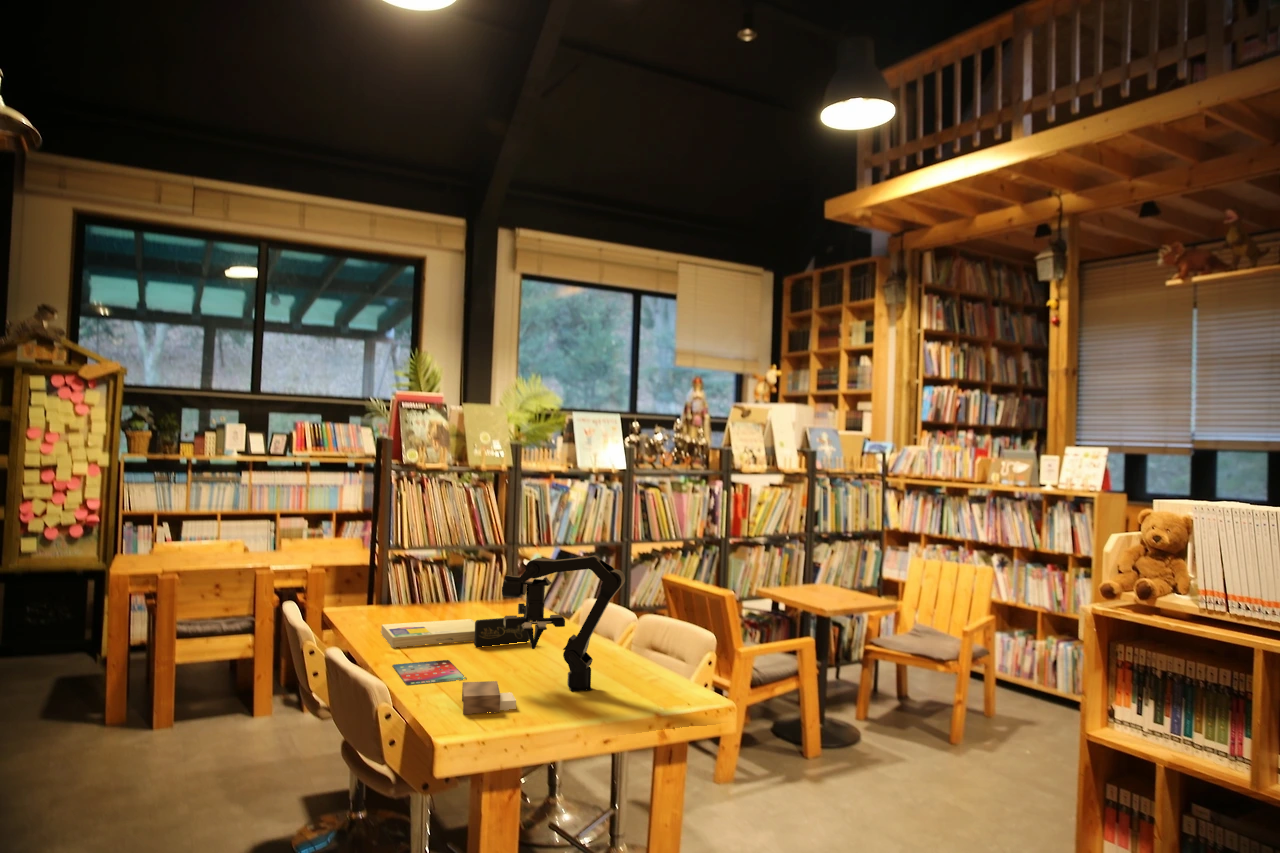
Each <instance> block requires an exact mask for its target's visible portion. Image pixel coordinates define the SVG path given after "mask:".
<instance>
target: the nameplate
mask: <svg viewBox="0 0 1280 853" xmlns="http://www.w3.org/2000/svg"><path fill="white" fill-rule="evenodd" d="M517 617H518V618H525V617H524V615H523V616H517ZM474 622H475V639H474V642H473V643H474V644H473V645H474V646H476V647H475V648H477V647H481V648H483V647H482V646H492V645H500V644H509V643H517V642H527V641H529V642H530V640H529V636H528V634H527V631H526V630H523V628H522V624H518V626H517V627H516V628H505V626H504V617H499V618H487V619H483V618H482V619H477V620H475V621H474ZM492 647H493V646H492Z"/></svg>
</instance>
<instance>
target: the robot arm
mask: <svg viewBox="0 0 1280 853" xmlns="http://www.w3.org/2000/svg"><path fill="white" fill-rule="evenodd" d="M582 570H583V571H584V570H591V572H592V573H594V575H595V576H597V578H598V579H599V580H600V581H601V585H600V589H599V593H598V596H597V598H596V600H595V602H594V604H593V606H592V608H591V609H590V611H589V612H588V615H587V617H586V619H585V621H584V622H583V624H582V626H581V628H580V630H579V631H578V633H577V634H574V633H573V634H572V635H571V636H570V637H569V638H568V640H567V643H566V645H565V646H564V648H563V649H562V650H563V655H562V656H563V661H564V662H565V663H566V664H567V666H568V668H569V671H568V672H567V687H568V688H569V690H570V691H571V692H577V691H578V692H579V691H582V692H583V691H592V689H593V688H592V687H591V685H592V684H591V683H592V682H591V681H592V668H591V667H590V666H591V665H592V663H593V658H592V657H591V655H590V654H589V653H588V648H589V645H590V641H591V637H592V635H593V634H594V632H595V630H596V628H597V626H598V624H599V623H600V621H601V618H602V617H603V615H604V613H605V611H606V609H607V608H608V606H609V603H610V602H611V600H612V599H613V598H614V597H615V595H616V594H617V593H618V592H619V591H620V589H621V588H622V587H623V585H624V584H625V582H626V576H625V574H624V572H623V571H622V570H621V569H615V568H614V567H613V566H612V565H610V564H609V563H607V562H606V561H604V560H603V559H601V558H600V556H599V555H595V554H594V555H593V554H592V555H591V556H584V557H583V556H581V557H575V558H574V557H573V558H564V559H563V558H562V559H553V558H545V557H537V558H534V559H532V560H529V561H528V562H527V564H526V565H525V571H523V573H522V574H521V575H520V576H518V575H517V576H515V575H510V574H508V575H507V574H506V575H505V576H504V580H503V583H502V586H501V595H502V597H504V598H517V599H522V597H523V596H526V597H525V603H518V604H517V605H518V606H517V614H518V615H523V616H524V617H525V618H518V617H519V616H517V615H505V616H504V617H503V618H504V626H505V628H516V627H517V626H518V624H522V628H523V630H526V631H527V634H528V636H529V643H530V648H531V649H532V650H536V647H537V645H538V642H539V639H540V638H541V636H542V634H543V632H544V631H546V630H548V628H547V625H553V626H554V627H555V628H562V627H563V628H564V627H566V619H565V617H564V616H563V615H561V614H550V615H549V617H545V615H544V614H545V593H546V590H545V589H546V587H548V586H551V585H552V581H551V580H550V579H548V576H549V575H551V574H555V573H563V572H565V573H566V572H573V571H582ZM542 577H544V578H542ZM540 578H542V579H540ZM531 579H533V580H532V581H529V580H531ZM533 625H534V628H533Z"/></svg>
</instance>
